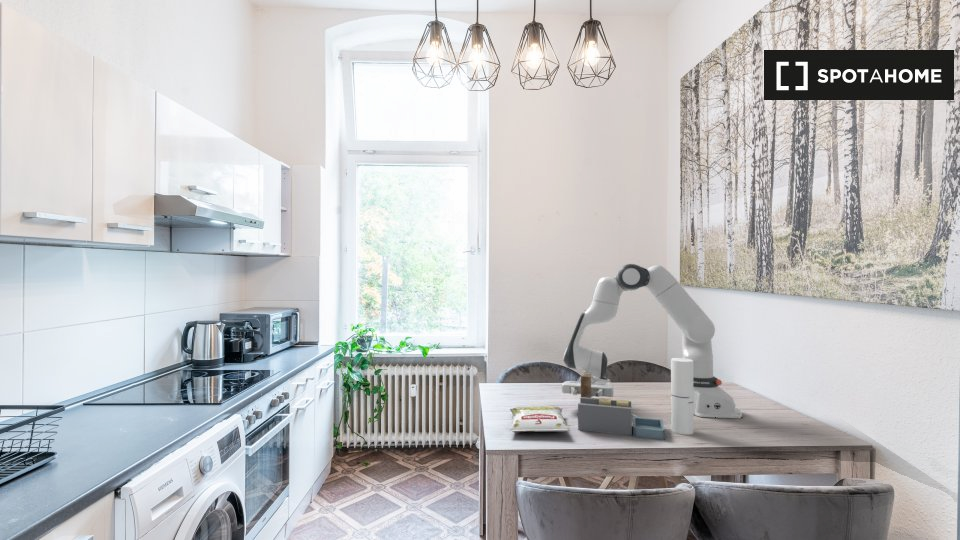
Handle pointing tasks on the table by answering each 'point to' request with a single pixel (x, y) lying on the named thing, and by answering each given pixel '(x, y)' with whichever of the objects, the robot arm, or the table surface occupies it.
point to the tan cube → (604, 401)
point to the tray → (648, 428)
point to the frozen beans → (538, 419)
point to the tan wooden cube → (622, 403)
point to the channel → (604, 417)
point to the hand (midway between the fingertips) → (585, 393)
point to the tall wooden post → (586, 385)
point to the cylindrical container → (682, 396)
